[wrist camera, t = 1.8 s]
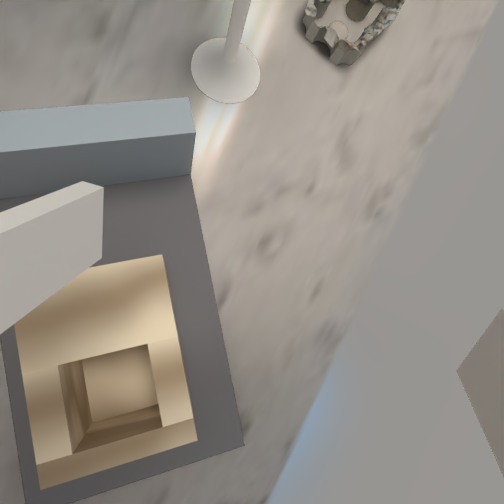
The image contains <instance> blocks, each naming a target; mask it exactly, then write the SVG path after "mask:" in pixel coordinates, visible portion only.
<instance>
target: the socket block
mask: <svg viewBox="0 0 504 504" xmlns="http://www.w3.org/2000/svg"><path fill="white" fill-rule="evenodd" d="M14 327H15V333H16V339H17V346H18V352H19V358H20V365H21V371H22V377H23V384H24V390H25V396H26V403H27V409H28V415H29V422H30V428H31V434H32V441H33V447H34V453H35V460H36V466H37V472H38V479H39V485H40V490H43V489H46V488H49V487H52V486H55V485H58V484H61V483H65V482H68V481H71V480H74V479H77V478H80V477H84V476H87V475H90V474H93V473H96V472H99V471H103V470H106V469H109V468H112V467H115V466H118V465H122V464H125V463H128V462H131V461H134V460H137V459H141V458H144V457H147V456H150V455H153V454H156V453H160V452H163V451H166V450H169V449H172V448H175V447H179V446H182V445H185V444H188V443H191V442H194V441H198V440H197V433H196V427H195V420H194V414H193V408H192V402H191V397H190V392H189V387H188V382H187V376H186V371H185V366H184V361H183V355H182V350H181V345H180V340H179V335H178V329H177V324H176V319H175V314H174V308H173V303H172V298H171V293H170V287H169V282H168V277H167V272H166V267H165V262H164V259H163V256H162V254H161V255H156V256H150V257H145V258H139V259H134V260H128V261H123V262H117V263H112V264H106V265H101V266H95V267H90V268H88V269H86V270H85V271H84V272H82V273H81V274H80V275H78V276H77V277H76V278H74V279H73V280H72V281H70V282H69V283H68V284H66V285H65V286H64V287H62V288H61V289H60V290H58V291H57V292H56V293H55V294H53V295H52V296H51V297H49V298H48V299H47V300H45V301H44V302H43V303H41V304H40V305H39V306H37V307H36V308H35V309H33V310H32V311H31V312H29V313H28V314H27V315H25V316H24V317H23V318H21V319H20V320H19V321H17V322H16V323H15V324H14Z"/></svg>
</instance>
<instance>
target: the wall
mask: <svg viewBox="0 0 504 504" xmlns="http://www.w3.org/2000/svg"><path fill="white" fill-rule="evenodd" d="M195 135H196V131H195V126H194V121H193V116H192V111H191V106H190V101H189V97H181V98H168V99H155V100H142V101H129V102H116V103H103V104H90V105H77V106H64V107H51V108H38V109H24V110H11V111H0V199H5V198H12V197H20V196H28V195H35V194H43V193H51V192H55V191H58V190H60V189H63V188H66V187H68V186H71V185H73V184H76V183H79V182H81V181H84V182H88V183H91V184H94V185H98V186H105V185H112V184H120V183H128V182H135V181H143V180H151V179H158V178H166V177H174V176H181V175H189V174H190V173H191V166H192V158H193V151H194V143H195Z"/></svg>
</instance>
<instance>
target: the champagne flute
mask: <svg viewBox="0 0 504 504" xmlns="http://www.w3.org/2000/svg"><path fill="white" fill-rule="evenodd" d="M250 2H251V0H234V3H233V8H232V13H231V18H230V23H229V28H228V33H227V38H213V39H210V40H207V41H205V42H203V43H202V44H201V45H200V46H199V47H198V48H197V49H196V50H195V52H194V54H193V56H192V60H191V72H192V76H193V79H194V81H195V83H196V85H197V86H198V87H199V89H200V90H201V91H202V92H203V93H204V94H205V95H207V96H208V97H210V98H211V99H213V100H216V101H218V102H222V103H231V104H232V103H239V102H242V101H244V100H246V99H248V98H249V97H251V96H252V95H253V94H254V92H255V91H256V89H257V88H258V85H259V82H260V69H259V65H258V62H257V60H256V58H255V57H254V55H253V54H252V52H251V51H250V50H249V49H248V48H247V47H245V46H244V45H242V44H241V43H240V40H241V37H242V33H243V29H244V25H245V21H246V17H247V14H248V10H249V6H250Z"/></svg>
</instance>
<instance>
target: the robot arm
mask: <svg viewBox="0 0 504 504" xmlns="http://www.w3.org/2000/svg"><path fill="white" fill-rule="evenodd" d="M103 197H104V187H101V186H98V185H94V184H91V183H88V182H84V181H81V182H79V183H76V184H73V185H71V186H68V187H66V188H63V189H60V190H58V191H55V192H53V193H50V194H47V195H45V196H42V197H40V198H37V199H34V200H32V201H29V202H26V203H24V204H21V205H19V206H16V207H13V208H11V209H8V210H6V211H3V212H0V334H1V333H3V332H4V331H5V330H7V329H8V328H9V327H11V326H12V325H13V324H15V323H16V322H17V321H19V320H20V319H21V318H23V317H24V316H25V315H27V314H28V313H29V312H31V311H32V310H33V309H35V308H36V307H37V306H39V305H40V304H41V303H43V302H44V301H45V300H47V299H48V298H49V297H51V296H52V295H53V294H55V293H56V292H57V291H58V290H60V289H61V288H62V287H64V286H65V285H66V284H68V283H69V282H70V281H72V280H73V279H74V278H76V277H77V276H78V275H80V274H81V273H82V272H84V271H85V270H86V269H88V268H89V267H90V266H92V265H93V264H94V263H96V262H97V261H98V260H100V259H101V258H102V234H103ZM457 373H458V375H459V378H460V379H461V382H462V384H463V387H464V389H465V391H466V393H467V396H468V398H469V400H470V402H471V404H472V407H473V409H474V411H475V414H476V416H477V418H478V420H479V422H480V425H481V427H482V429H483V431H484V434H485V436H486V438H487V440H488V443H489V445H490V447H491V449H492V452H493V454H494V456H495V458H496V461H497V463H498V465H499V467H500V469H501V472H502V474H503V476H504V308H502V309H501V310H500V311H499V313H498V314H497V316H496V317H495V318H494V320H493V321H492V323H491V324H490V325H489V327H488V328H487V329H486V331H485V332H484V334H483V335H482V336H481V338H480V339H479V340H478V342H477V343H476V345H475V346H474V347H473V349H472V350H471V351H470V353H469V354H468V356H467V357H466V358H465V360H464V361H463V362H462V364H461V365H460V367H459V368H458V370H457Z"/></svg>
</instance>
